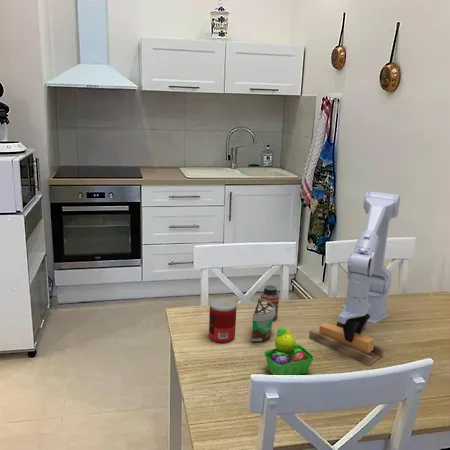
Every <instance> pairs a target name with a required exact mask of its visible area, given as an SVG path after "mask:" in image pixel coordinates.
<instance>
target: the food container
mask: <svg viewBox="0 0 450 450" xmlns="http://www.w3.org/2000/svg"><path fill="white" fill-rule="evenodd" d="M275 315H276V311H275V307H274V305H273V303H271V302H270V301H268V300H265V299H261V297H260V298H259V297H258V298H257V304H256V307H255V310H254V312H253V313H252V325H251V326H252V327H251V328H252V329H251V344H263V343H266V342H269V340H270V339H271V333H272V327H273V322H272V321H273V317H274V316H275Z"/></svg>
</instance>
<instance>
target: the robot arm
mask: <svg viewBox="0 0 450 450" xmlns="http://www.w3.org/2000/svg"><path fill="white" fill-rule="evenodd" d="M400 197H401V196H400V195H399V194H398V193H396V194H395V193H387V192H379V191H371V190H368V191H367V192H365V195H364V198H363V209H364V212H365V214H366V215H367V218H366V221H365V222H366V223H365V228H364V231H362V232H360V233H359V235H358V238H357V241H356V244H355V247H354V251H353V253H350V254H349V256H348V260H347V267H346V268H347V276H346V277H347V289H346V298H345V303H344V304H342V305H341V309H342V311H341V313H340V314H338V317H337V322H340V323H341V324H342V327H343V331H344V337H345V340H346V341H349V342H352V341H353V338H354V335H355V333H358V334H361V335H362V332H363V331H362V329H363V327H364V325H365V323H366V322H367V323H369V322H370V323H371V324H376V323H378V322H380V321H381V320H383V319H385V318H387V317H388V316H389V314H386V313H387V307H388V294H389V293H390V292H389V291H390V288H391V283H392V272H391V270H390V269H388V268H387V267H386V266H385V265H384V263H385V254H386V246H387V239H388V232H389V227H390V226H389V225H390V224H389V223H390V222H391V219H395V218H397V217H398V215H399V208H400V202H401V198H400Z"/></svg>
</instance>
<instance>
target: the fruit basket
mask: <svg viewBox="0 0 450 450" xmlns="http://www.w3.org/2000/svg"><path fill="white" fill-rule="evenodd" d="M296 343H297V342H296V339H295V337H294V335H293V334H292V333H291V330H289V329H288V328H286V327H284V326H281V327H279V328H278V329H277V332H276V337H275V339H274V345H275V348H272V349H267V350H265V351H264V352H263V353H264V357H265V359H266V363H267V369H268V371H270V373H271V374H272V375H273V374H275V375H296V376H298V375H304V374H307V373H308V371H309V368H310V367H311V364H312V361H313V360H314V358H315V356H314V355H313V354H311V352H310V351H308V350H307V349H306V348H305V347H304V346H303V345H301V344H300V343H299V344H296Z"/></svg>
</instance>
